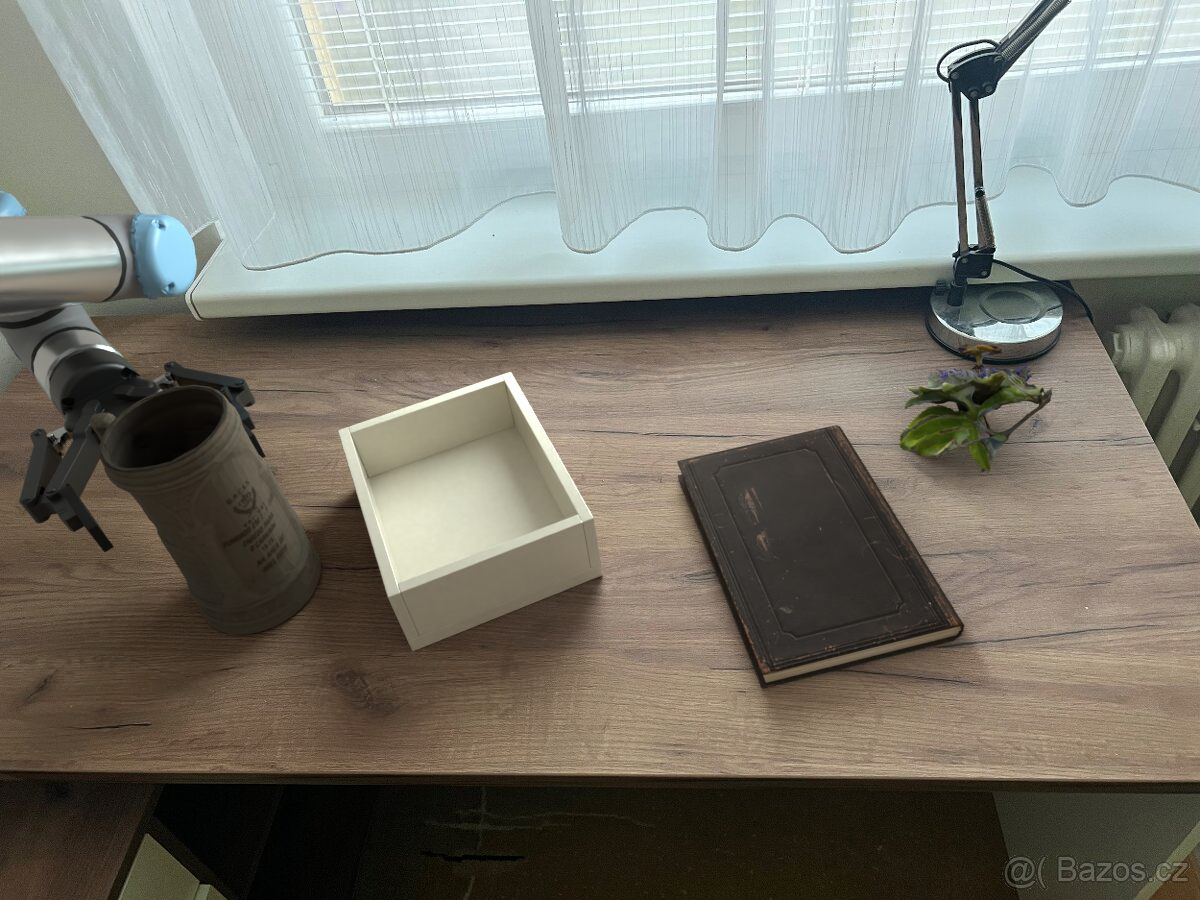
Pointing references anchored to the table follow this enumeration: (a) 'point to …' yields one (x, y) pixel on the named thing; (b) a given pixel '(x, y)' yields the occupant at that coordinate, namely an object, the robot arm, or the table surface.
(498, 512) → the open storage bin
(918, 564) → the hardcover book
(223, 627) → the beer stein
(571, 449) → the table surface
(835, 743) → the table surface
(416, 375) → the table surface
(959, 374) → the passion flower
